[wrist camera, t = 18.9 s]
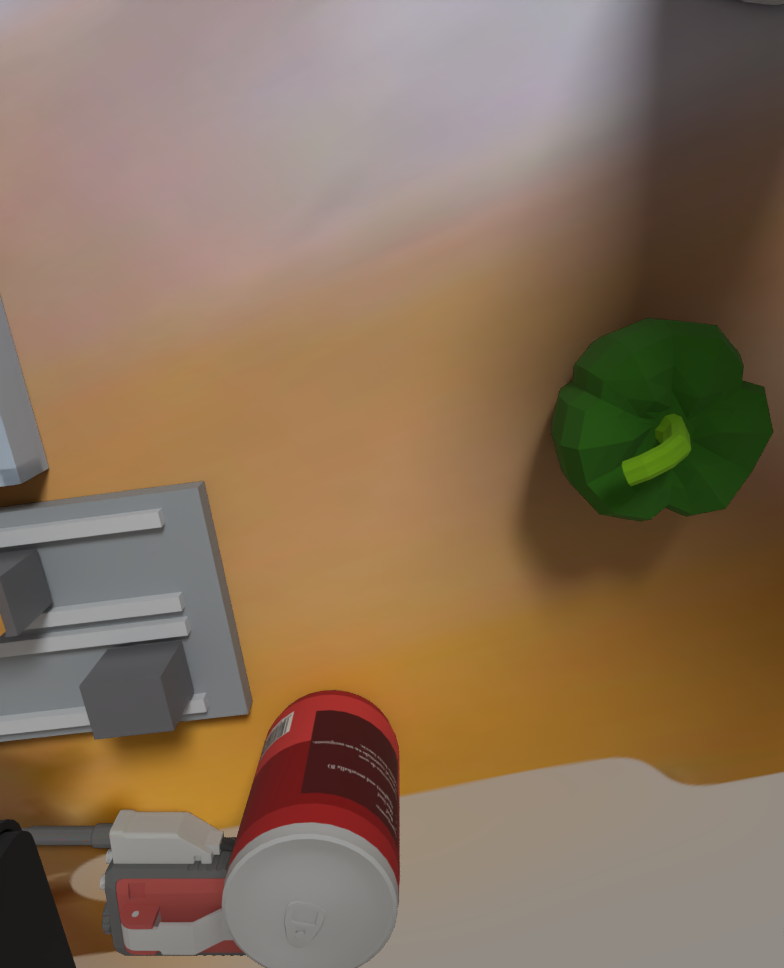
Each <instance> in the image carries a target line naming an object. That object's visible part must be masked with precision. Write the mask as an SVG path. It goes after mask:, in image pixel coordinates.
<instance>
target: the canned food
mask: <svg viewBox="0 0 784 968" xmlns="http://www.w3.org/2000/svg"><path fill="white" fill-rule="evenodd" d="M399 863H400V862H399V746H398V743H397V739H396V735H395V733H394V731H393V729H392V727H391V725H390V723H389V722H388V720H387V718H386V717H385V715H384V714H383V713H382V712H381V711H380V709H379V708H377V707H376V706H375V705H374V704H372V703H371V702H370V701H368V700H366V699H364V698H363V697H361V696H359V695H356V694H353V693H349V692H345V691H337V690H329V691H319V692H315V693H311V694H308V695H306V696H304V697H302V698H299V699H298V700H296V701H295V702H293V703H292V704H291V705H289V706H288V707H287V708H286V709H285V710H284V711H283V712H282V713H281V715H280V716H279V717H278V718H277V719H276V720H275V722H274V723H273V725H272V726H271V728H270V730H269V732H268V735H267V738H266V740H265V744H264V747H263V750H262V754H261V757H260V760H259V764H258V767H257V771H256V774H255V777H254V781H253V784H252V787H251V791H250V794H249V798H248V801H247V804H246V808H245V811H244V814H243V818H242V821H241V825H240V828H239V831H238V835H237V838H236V841H235V845H234V848H233V852H232V855H231V858H230V862H229V867H228V870H227V874H226V877H225V882H224V889H223V896H222V912H223V919H224V922H225V925H226V927H227V930H228V932H229V934H230V936H231V937H232V939H233V940H234V942H235V943H236V945H237V946H238V947H239V948H240V949H241V950H242V951H243V952H244V953H245V954H246V955H247V956H248V957H249V958H251V959H252V960H254V961H255V962H257V963H258V964H260V965H261V966H263V967H265V968H358V967H359V966H361V965H363V964H364V963H366V962H368V961H369V960H370V959H372V958H373V957H374V956H375V955H376V954H377V953H378V952H379V951H380V950H381V949H382V947H383V946H384V945H385V944H386V942H387V941H388V940H389V938H390V936H391V933H392V931H393V929H394V927H395V922H396V917H397V909H398V903H399V880H400V878H399V876H400V865H399Z"/></svg>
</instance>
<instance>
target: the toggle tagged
mask: <svg viewBox="0 0 784 968" xmlns="http://www.w3.org/2000/svg"><path fill="white" fill-rule="evenodd" d="M52 603H53V602H52V599H51V595H50V592H49V589H48V585H47V582H46V578H45V575H44V572H43V568H42V565H41V562H40V558H39V555H38V552H37V549H31V550H23V551H15V552H7V553H0V638H4V637H12V636H18V635H19V634H20V633H21V632H22V631H23V630H25V629H26V628H27V627H28V626H29V625H30V624H31V623H32V622H33V621H34V620H35V619H36V618H37V617H38V616H39V615H40V614H41V613H42V612H43V611H44V610H45V609H46V608H48V607H49V606H50V605H51V604H52Z"/></svg>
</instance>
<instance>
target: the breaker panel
mask: <svg viewBox="0 0 784 968" xmlns="http://www.w3.org/2000/svg"><path fill="white" fill-rule="evenodd" d="M31 549H37V552H38V555H39V558H40V562H41V565H42V568H43V572H44V575H45V578H46V582H47V585H48V589H49V592H50V595H51V599H52V602H53V603H52V604H51V605H50V606H49V607H48V608H46V609H45V610H44V611H43V612H42V613H41V614H40V615H39V616H38V617H37V618H36V619H35V620H34V621H33V622H32V623H31V624H30V625H29V626H28V627H27V628H26V629H25V630H23V631H22V632H21V633H20V634H19V635H18V636H12V637H4V638H0V742H3V741H12V740H21V739H30V738H39V737H48V736H57V735H66V734H75V733H84V732H92V729H91V725H90V722H89V719H88V715H87V712H86V709H85V705H84V702H83V699H82V695H81V692H80V688H79V686H80V684H81V683H82V682H83V680H84V679H85V678H86V677H87V675H88V674H89V673H90V671H91V670H92V669H93V667H94V666H95V665H96V664H97V662H98V661H99V660H100V658H101V657H102V656H103V654H104V653H105V652H106V651H107V649H114V648H123V647H131V646H140V645H148V644H157V643H165V642H174V641H182V644H183V648H184V652H185V656H186V660H187V664H188V668H189V672H190V676H191V680H192V684H193V688H194V691H193V693H192V695H191V698H190V700H189V702H188V704H187V706H186V708H185V710H184V712H183V714H182V716H181V718H180V720H179V722H182V721H191V720H200V719H209V718H218V717H227V716H236V715H245V714H248V713H249V710H250V707H251V704H252V702H253V701H252V697H251V692H250V687H249V683H248V678H247V674H246V669H245V665H244V660H243V656H242V651H241V647H240V642H239V637H238V633H237V628H236V624H235V619H234V615H233V610H232V606H231V601H230V597H229V592H228V587H227V583H226V578H225V574H224V569H223V565H222V560H221V556H220V551H219V547H218V542H217V537H216V533H215V528H214V524H213V519H212V515H211V510H210V506H209V501H208V496H207V492H206V487H205V483H204V481H199V482H192V483H184V484H176V485H168V486H161V487H153V488H145V489H137V490H130V491H122V492H114V493H106V494H99V495H91V496H83V497H75V498H68V499H60V500H52V501H44V502H37V503H29V504H21V505H13V506H6V507H0V553H7V552H15V551H23V550H31Z"/></svg>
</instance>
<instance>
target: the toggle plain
mask: <svg viewBox="0 0 784 968" xmlns="http://www.w3.org/2000/svg"><path fill="white" fill-rule="evenodd" d="M79 688H80V692H81V695H82V699H83V702H84V705H85V709H86V712H87V715H88V719H89V722H90V725H91V729H92V732H93V736H94V739H104V738H113V737H122V736H131V735H140V734H149V733H158V732H167V731H174V730H175V728H176V726H177V724H178V722H179V720H180V718H181V716H182V714H183V712H184V710H185V708H186V706H187V704H188V702H189V700H190V698H191V695H192V693H193V691H194V688H193V684H192V680H191V676H190V672H189V668H188V664H187V660H186V656H185V652H184V648H183V644H182V641H174V642H165V643H157V644H148V645H140V646H131V647H123V648H114V649H107V651H106V652H105V653H104V654H103V656H102V657H101V658H100V660H99V661H98V662H97V664H96V665H95V666H94V667H93V669H92V670H91V671H90V673H89V674H88V675H87V677H86V678H85V679H84V680H83V682H82V683H81V684H80V686H79Z"/></svg>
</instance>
